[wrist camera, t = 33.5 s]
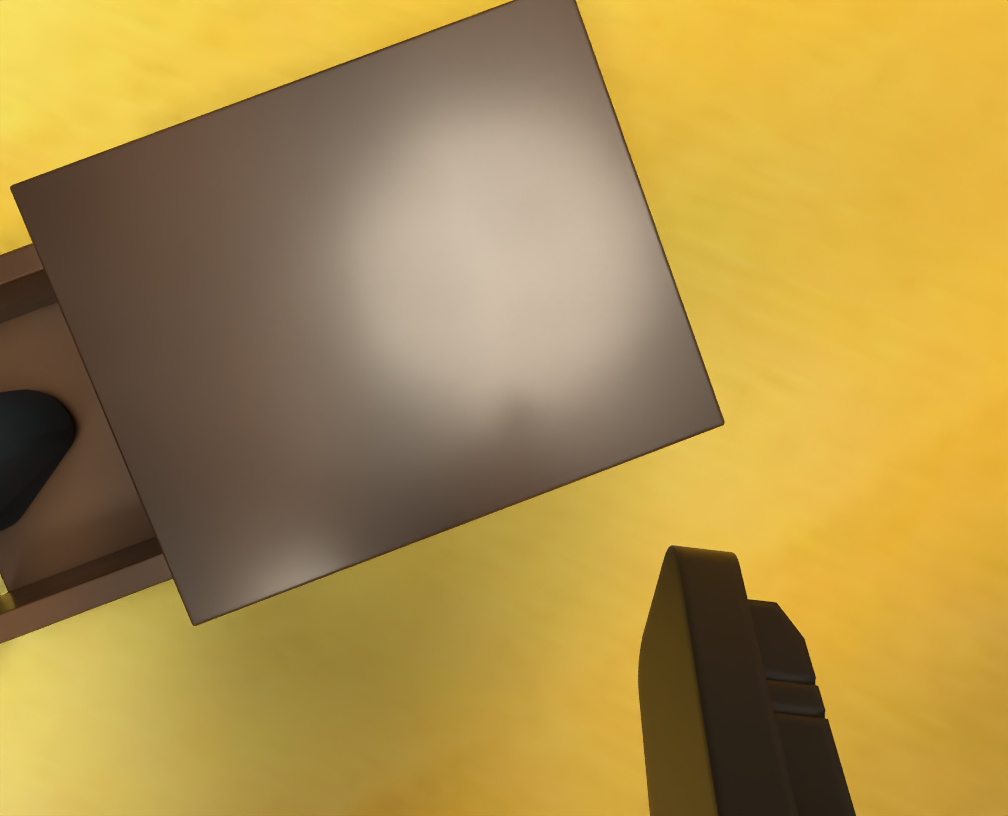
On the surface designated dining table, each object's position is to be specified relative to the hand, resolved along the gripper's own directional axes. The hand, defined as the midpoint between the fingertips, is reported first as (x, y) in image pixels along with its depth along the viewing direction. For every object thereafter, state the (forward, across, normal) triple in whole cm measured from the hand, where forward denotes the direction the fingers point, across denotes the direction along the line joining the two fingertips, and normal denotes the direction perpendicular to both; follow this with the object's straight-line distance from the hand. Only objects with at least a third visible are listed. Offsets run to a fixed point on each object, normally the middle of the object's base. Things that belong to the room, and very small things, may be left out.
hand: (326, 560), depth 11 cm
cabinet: (+22, -2, -8) cm, 23 cm away
